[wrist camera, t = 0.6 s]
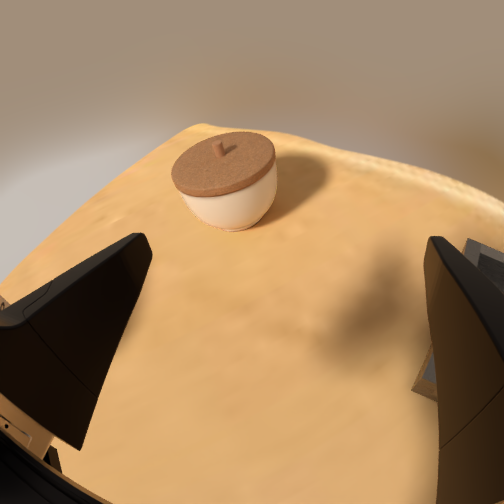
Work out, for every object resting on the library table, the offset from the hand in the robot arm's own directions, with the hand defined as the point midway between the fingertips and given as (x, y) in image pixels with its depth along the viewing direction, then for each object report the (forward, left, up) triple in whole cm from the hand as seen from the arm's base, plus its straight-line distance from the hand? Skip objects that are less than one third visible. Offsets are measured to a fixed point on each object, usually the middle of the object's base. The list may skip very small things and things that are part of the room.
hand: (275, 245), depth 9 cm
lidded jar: (+21, +5, -17) cm, 27 cm away
